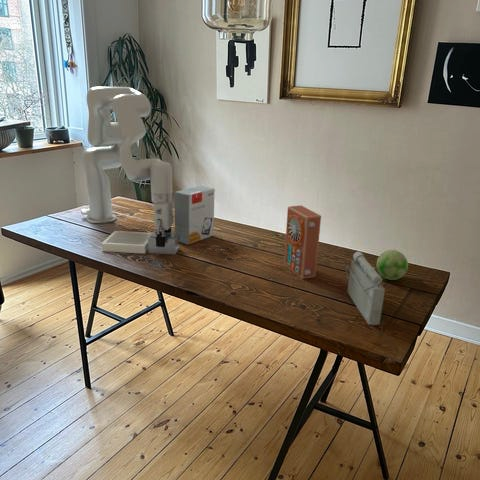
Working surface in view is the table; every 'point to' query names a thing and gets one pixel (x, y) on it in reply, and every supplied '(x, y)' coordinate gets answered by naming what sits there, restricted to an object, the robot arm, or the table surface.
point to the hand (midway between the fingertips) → (164, 242)
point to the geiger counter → (365, 288)
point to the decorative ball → (392, 264)
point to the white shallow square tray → (126, 242)
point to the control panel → (302, 241)
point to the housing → (170, 244)
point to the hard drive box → (194, 214)
